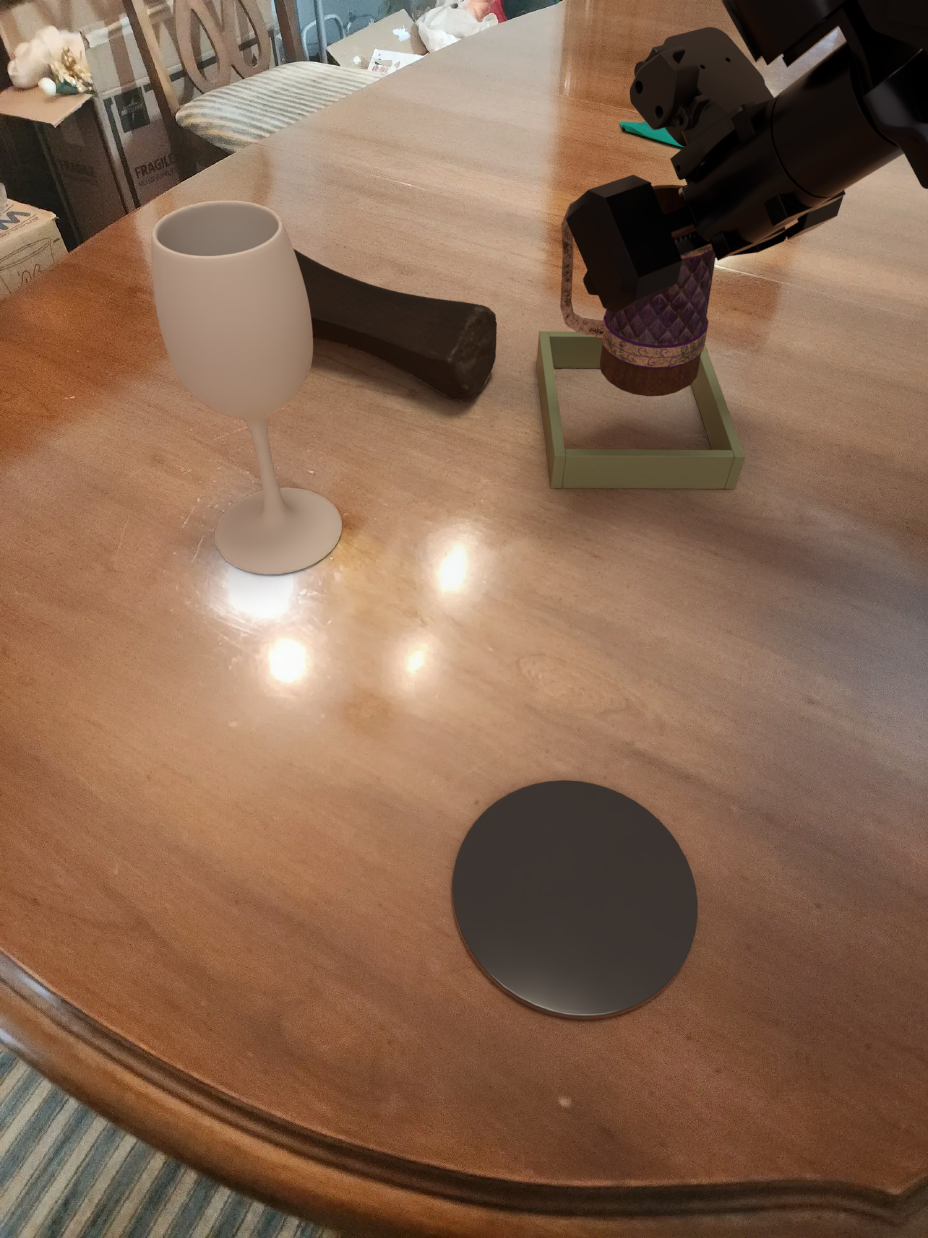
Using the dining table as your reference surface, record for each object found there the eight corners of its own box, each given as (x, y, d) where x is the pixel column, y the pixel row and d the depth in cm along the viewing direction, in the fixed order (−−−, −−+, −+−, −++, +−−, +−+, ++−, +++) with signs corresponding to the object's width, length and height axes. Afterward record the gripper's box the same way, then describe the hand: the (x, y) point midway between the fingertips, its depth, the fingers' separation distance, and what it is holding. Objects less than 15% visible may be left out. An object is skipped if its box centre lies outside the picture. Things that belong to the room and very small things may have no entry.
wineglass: (345, 489, 62) (310, 190, 46) (338, 575, 56) (295, 267, 41) (225, 490, 62) (148, 190, 46) (205, 577, 56) (110, 268, 40)
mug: (699, 346, 63) (732, 175, 53) (698, 403, 58) (734, 228, 49) (560, 337, 64) (569, 169, 55) (548, 392, 60) (556, 220, 50)
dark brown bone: (188, 345, 78) (464, 456, 73) (134, 276, 68) (451, 399, 63) (243, 247, 80) (516, 349, 75) (199, 165, 70) (512, 276, 65)
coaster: (673, 785, 46) (675, 779, 46) (718, 1020, 38) (721, 1016, 38) (452, 785, 46) (452, 779, 46) (451, 1021, 38) (452, 1017, 38)
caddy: (693, 363, 74) (701, 332, 71) (735, 489, 63) (746, 456, 60) (536, 362, 73) (538, 330, 71) (550, 488, 62) (554, 455, 60)
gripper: (868, -47, 45) (676, 122, 59) (614, 11, 38) (463, 188, 52) (939, 157, 47) (736, 274, 61) (710, 251, 40) (539, 360, 54)
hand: (626, 270), depth 57 cm, fingers closed on mug, 7 cm apart
